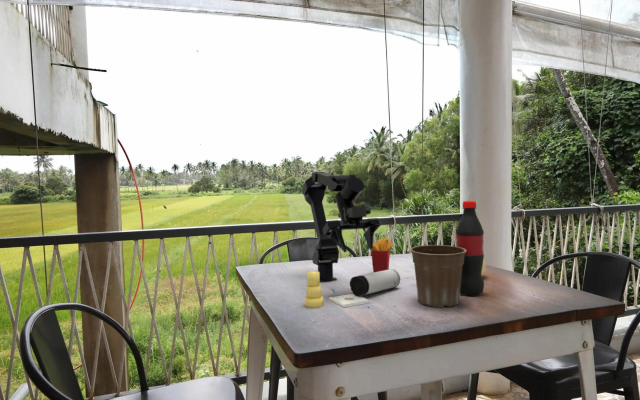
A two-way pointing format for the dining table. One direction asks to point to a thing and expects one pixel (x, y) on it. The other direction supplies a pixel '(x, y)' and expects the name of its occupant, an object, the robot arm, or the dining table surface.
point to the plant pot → (438, 274)
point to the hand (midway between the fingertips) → (358, 250)
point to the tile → (349, 300)
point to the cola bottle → (471, 250)
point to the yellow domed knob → (313, 291)
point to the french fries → (381, 255)
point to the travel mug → (374, 282)
